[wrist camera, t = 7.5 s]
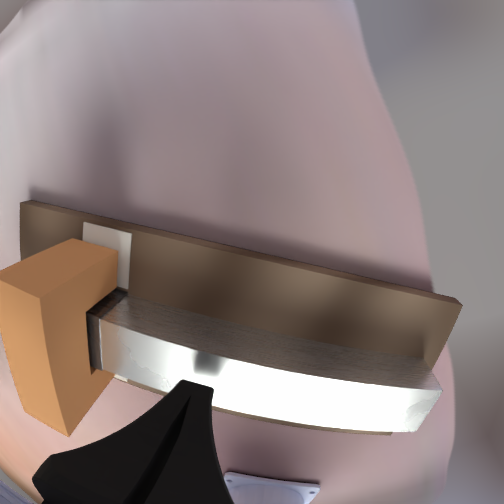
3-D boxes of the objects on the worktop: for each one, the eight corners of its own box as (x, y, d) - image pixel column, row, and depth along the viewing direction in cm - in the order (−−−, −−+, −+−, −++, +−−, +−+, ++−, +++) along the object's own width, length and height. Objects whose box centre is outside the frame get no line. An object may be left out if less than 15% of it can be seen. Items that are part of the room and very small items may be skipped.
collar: (118, 250, 14) (39, 298, 9) (117, 371, 17) (68, 437, 11) (72, 237, 15) (-9, 275, 9) (77, 355, 17) (24, 411, 11)
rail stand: (454, 297, 15) (490, 332, 11) (387, 425, 18) (399, 468, 14) (30, 200, 16) (-16, 211, 12) (38, 333, 19) (5, 360, 15)
